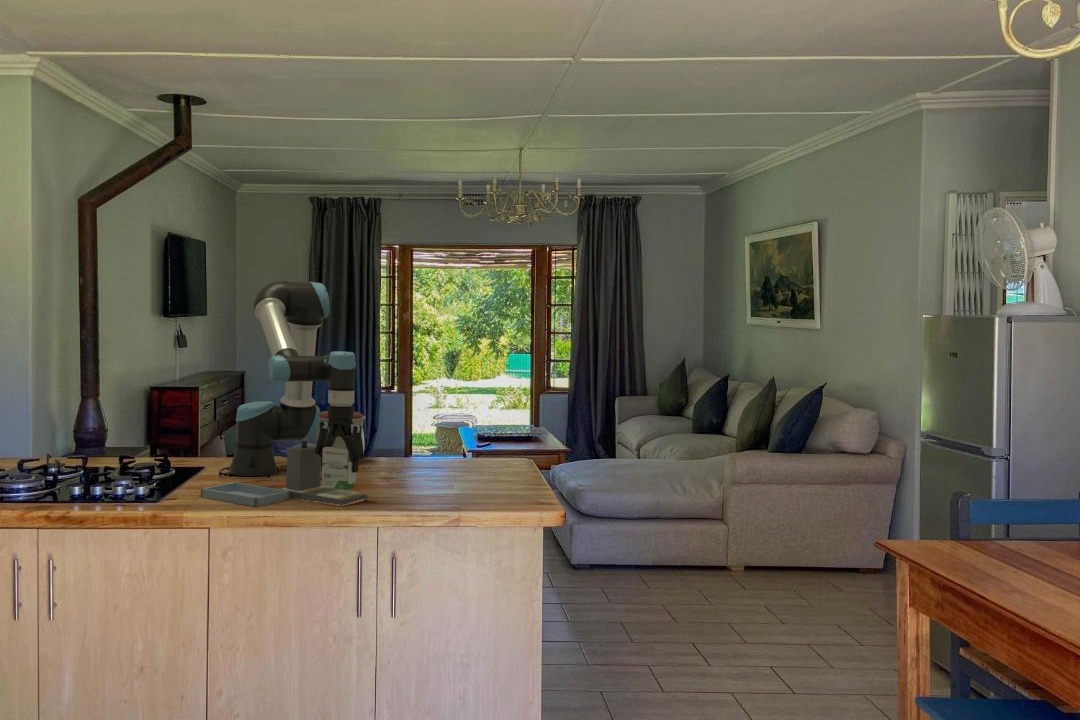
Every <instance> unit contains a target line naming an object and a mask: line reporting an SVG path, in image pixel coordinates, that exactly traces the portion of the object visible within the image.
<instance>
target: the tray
mask: <svg viewBox="0 0 1080 720" xmlns="http://www.w3.org/2000/svg"><path fill="white" fill-rule="evenodd" d="M280 489H281V488H274V487H273V488H272V487H267V486H262V485H255V484H249V483H245V482H237V481H233V482H229V483H223V484H217V485H213V486H207V487H201V488H200V498H204V499H210V500H213V501H214V500H215V501H220V502H227V503H232V504H237V505H242V504H243V505H242V506H247V505H248V506H249V507H253V506H255V507H254V508H258V507H257V506H259V507H261V506H260V505H263V506H266V505H265V504H268V505H270V504H269V503H272V504H275V502H276V503H280V502H279V501H281V502H285V501H288V500H287V499H291V498H290V491H286V490H280ZM284 500H285V501H284Z"/></svg>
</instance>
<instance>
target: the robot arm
mask: <svg viewBox="0 0 1080 720" xmlns="http://www.w3.org/2000/svg"><path fill="white" fill-rule="evenodd" d="M252 306H253V307H252V308H253V309H252V310H253V313H254V316H255V318H256V320H257V321H258V322H260V323H261V326H262V330H263V333H264V335H265V338H266V341H267V344H268V348H269V350H270V354H271V356H270V358H269V360H268V376H269V379H270V380H271V381H273V382H283V383H285V391H284V392H285V393H284V396H282V397H281V398H280V400H279V404H278V405H275V404H274V401H271V400H270V401H269V400H264V401H263V400H262V401H261V400H260V401H259V400H258V401H253V402H247V403H243V404H241V405H239V406H238V407H237V410H236V418H235V421H236V423H235V424H236V425H235V427H236V429H235V432H236V434H235V451H234V454H233V457H232V460H231V463H230V465H229V473H230V474H231V475H236V476H240V477H241V476H242V477H260V476H270V475H271V476H272V475H275V474H277V472H278V465H277V463H276V459H275V455H274V451H273V441H304V440H311V439H313V438H314V437H315V436H317V431H318V428H319V423H320V432H319V436H318V439H317V441H316V450H315V453H316V454H318V455H320V457H321V458H320V469H322V461H323V448H324V447H331V446H333V444H334V441H335V439H336V438H337V437H338V436H339V437H342V439H343V440H344V442H345V445H346V447H347V449H348V450H349V456H350V459H351V460H350V461H349V465H348V484H352V483H355V484H356V483H357V473H358V471H359V462H360V461H361V460H364V459H365V452H364V447H363V446H364V444H363V439H362V436H361V428H362V427H361V425H358V426H357V425H353V422H352V419H353V417H354V412H355V406H354V404H355V391H356V390H355V387H356V386H355V385H356V384H355V382H356V367H357V364H356V355H355V353H354V352H353V351H338V350H335V351H331V352H330V353H329V355H327V354H326V355H316V348H317V347H316V345H317V334H318V333H317V331H318V328H320V327H322V325H323V319H327V318H328V317H329V314H330V308H331V307H330V298H329V294H328V290H327V288H326V286H325V285H324V284H323V283H322V282H321V283H320V282H314V281H302V280H301V281H297V280H296V281H295V280H290V281H289V280H275V281H270V282H269V283H267V284H265V285H264V286H262V287H261V288H260V290H258V292H257V293H256V295H255V296H254V299H253V304H252ZM313 382H328V392H327V393H328V395H327V398H328V399H327V403H328V404H329V405H328V406H327V411H328V418H329V421H328V422H327V421H324V422H320V412H321V410H320V407H319V406H318V405H317V404H316V401H315V399H314V398H313V396H312V393H313V392H312V391H313ZM328 428H330V431H329V433H328ZM351 431H352V433H351ZM327 434H328V435H327ZM327 436H328V437H327ZM352 438H353V439H352ZM326 439H327V440H326Z"/></svg>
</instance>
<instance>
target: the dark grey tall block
mask: <svg viewBox="0 0 1080 720" xmlns="http://www.w3.org/2000/svg"><path fill="white" fill-rule="evenodd" d="M316 446H317V445H316ZM316 446H314V445H308V441H307V440H301V446H296V447H291V448H287V449H286V450H287V452H286V453H287V454H286V455H287V457H286V458H287V459H286V486H285V488H286V489H290V490H296V491H301V490H306V489H311V488H315V487H320V486H321V483H320V482H321V457H320V455H318V454H316V453H315V450H316Z"/></svg>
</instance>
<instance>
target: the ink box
mask: <svg viewBox="0 0 1080 720" xmlns="http://www.w3.org/2000/svg"><path fill="white" fill-rule="evenodd" d="M350 460H351V459H350V456H349V450H348V449H347V448H346V447H335V446H331V447H324V448H323V461H322V468H321V486H322V487H323V488H331V489H337V490H339V489H341V490H348V491H349V490H351V489H353V488H355V485H356V483H352V484H348V465H349V461H350Z"/></svg>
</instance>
